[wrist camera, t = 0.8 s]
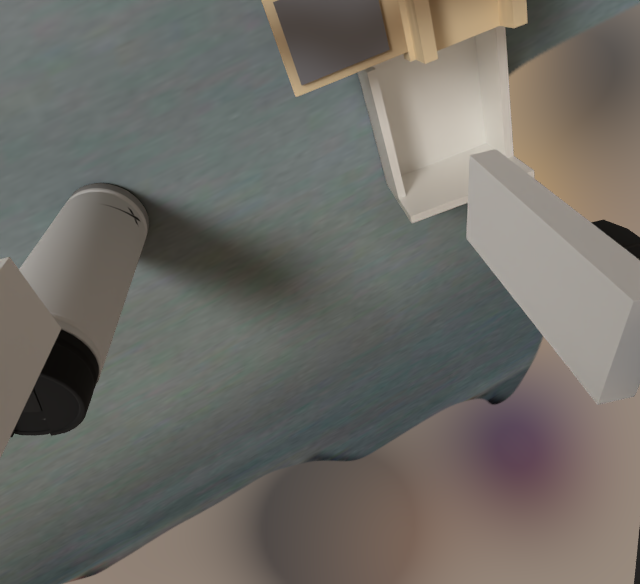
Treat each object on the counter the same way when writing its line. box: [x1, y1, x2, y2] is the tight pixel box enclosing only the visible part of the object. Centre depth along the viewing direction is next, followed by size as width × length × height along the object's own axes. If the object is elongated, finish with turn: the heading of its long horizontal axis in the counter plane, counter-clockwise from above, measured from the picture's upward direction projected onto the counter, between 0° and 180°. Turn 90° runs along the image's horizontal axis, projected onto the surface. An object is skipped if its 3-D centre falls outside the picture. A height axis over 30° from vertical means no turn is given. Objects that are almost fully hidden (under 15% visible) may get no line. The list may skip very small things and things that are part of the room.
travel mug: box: [10, 183, 149, 437], centre depth 29 cm, size 6×7×20 cm
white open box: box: [358, 26, 534, 223], centre depth 32 cm, size 10×9×7 cm
